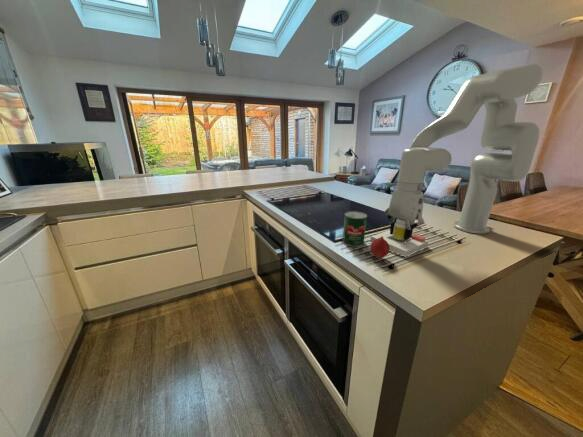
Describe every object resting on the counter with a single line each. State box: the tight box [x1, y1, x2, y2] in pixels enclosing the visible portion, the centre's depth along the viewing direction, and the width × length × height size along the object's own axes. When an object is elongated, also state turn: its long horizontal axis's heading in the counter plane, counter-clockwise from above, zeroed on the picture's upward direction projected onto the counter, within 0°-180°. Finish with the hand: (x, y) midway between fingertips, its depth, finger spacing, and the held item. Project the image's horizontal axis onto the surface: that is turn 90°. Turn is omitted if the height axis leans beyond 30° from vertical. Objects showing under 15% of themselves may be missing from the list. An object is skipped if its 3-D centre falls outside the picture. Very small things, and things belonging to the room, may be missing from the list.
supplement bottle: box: [392, 218, 407, 244], centre depth 84 cm, size 5×5×8 cm
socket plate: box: [369, 229, 430, 256], centre depth 86 cm, size 14×14×4 cm
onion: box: [370, 236, 390, 260], centre depth 76 cm, size 6×6×8 cm
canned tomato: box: [342, 210, 368, 247], centre depth 87 cm, size 8×8×11 cm
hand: (399, 235), depth 85 cm, fingers closed on supplement bottle, 4 cm apart
